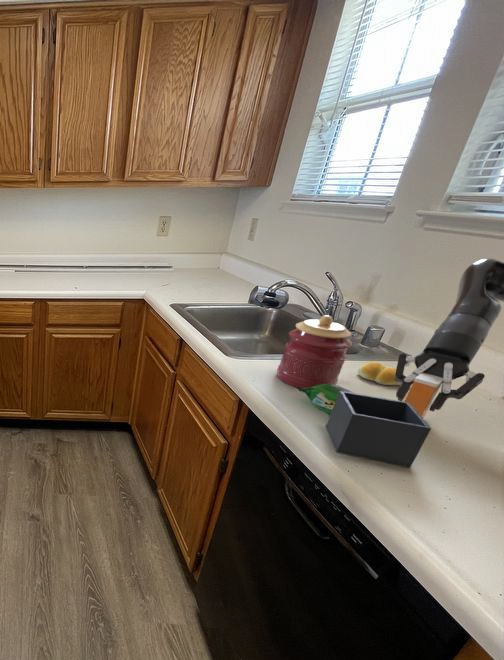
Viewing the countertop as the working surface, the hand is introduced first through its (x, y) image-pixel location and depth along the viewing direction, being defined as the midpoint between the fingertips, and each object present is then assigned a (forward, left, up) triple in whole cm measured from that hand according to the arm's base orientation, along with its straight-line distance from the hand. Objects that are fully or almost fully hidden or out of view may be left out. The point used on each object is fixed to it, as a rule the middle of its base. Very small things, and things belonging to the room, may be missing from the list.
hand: (415, 403), depth 89 cm
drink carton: (-1, -2, -4) cm, 5 cm away
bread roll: (-1, -24, -5) cm, 24 cm away
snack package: (+13, +2, -5) cm, 14 cm away
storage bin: (+11, +15, -4) cm, 19 cm away
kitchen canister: (+17, -14, -5) cm, 22 cm away
